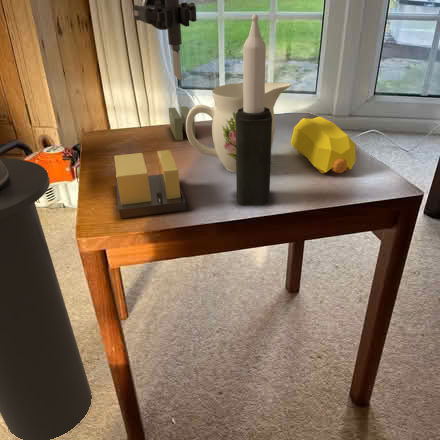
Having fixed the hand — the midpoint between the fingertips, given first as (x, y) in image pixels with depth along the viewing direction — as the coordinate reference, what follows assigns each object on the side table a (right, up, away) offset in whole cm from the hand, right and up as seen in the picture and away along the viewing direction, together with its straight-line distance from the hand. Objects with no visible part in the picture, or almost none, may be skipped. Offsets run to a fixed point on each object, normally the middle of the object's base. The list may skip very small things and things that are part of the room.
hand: (177, 18), depth 82 cm
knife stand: (-1, -15, +18) cm, 23 cm away
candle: (+13, -35, -10) cm, 39 cm away
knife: (-1, -6, +11) cm, 12 cm away
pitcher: (+11, -27, +1) cm, 29 cm away
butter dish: (-4, -35, -9) cm, 36 cm away
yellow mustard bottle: (+26, -26, +2) cm, 37 cm away
